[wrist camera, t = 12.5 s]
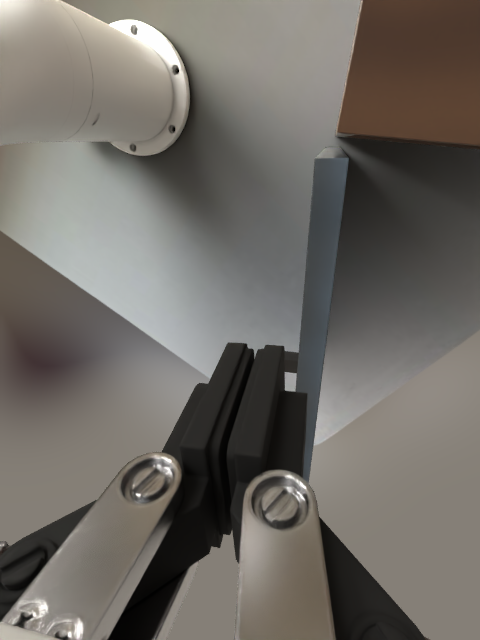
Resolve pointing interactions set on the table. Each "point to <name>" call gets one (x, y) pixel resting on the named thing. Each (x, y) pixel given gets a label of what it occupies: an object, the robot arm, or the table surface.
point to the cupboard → (414, 73)
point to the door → (318, 283)
